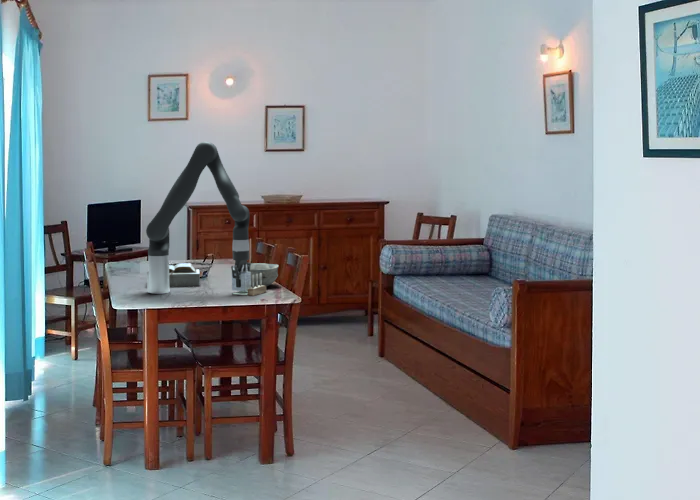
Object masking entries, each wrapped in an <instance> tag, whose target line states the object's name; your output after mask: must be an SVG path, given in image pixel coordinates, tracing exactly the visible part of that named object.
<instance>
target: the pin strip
mask: <svg viewBox="0 0 700 500" xmlns="http://www.w3.org/2000/svg"><path fill="white" fill-rule="evenodd" d="M259 279H260V285H259V286H258V274H256V286H255V287H254V275H252V287H251V288H249V289H247V291H248V295H247V296H248V297H251V296H252V297H255V296H259V295H261V294H265V293H267V287H266V286H265V285H262V273H259Z"/></svg>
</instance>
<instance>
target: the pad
mask: <svg viewBox="0 0 700 500" xmlns="http://www.w3.org/2000/svg"><path fill="white" fill-rule="evenodd" d="M232 295H238V296H239V295H242V296H248V291H246V292H245V291H236V292H232Z"/></svg>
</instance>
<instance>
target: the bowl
mask: <svg viewBox="0 0 700 500" xmlns="http://www.w3.org/2000/svg"><path fill="white" fill-rule="evenodd" d="M247 268H248V267H247ZM278 269H279V264H277V263H274V264H273V263H264V262H263V263H261V262H259V263H257V262H256V263H255V262H254V263H253V262H252V263H251V267H250V272H251V288H252V275H254V287H255V286H256V274H258V286H259V285H260V279H259V273H262V285H265V286H266V288H267V287H269V286H270V285H272V284H273V283H274V282H275V281H276V280H277V278H278V277H279V274H278V272H279V271H278Z"/></svg>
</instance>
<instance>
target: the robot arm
mask: <svg viewBox="0 0 700 500" xmlns="http://www.w3.org/2000/svg"><path fill="white" fill-rule="evenodd" d="M217 148H218V147H217V146H216V145H215V144H213V143H212V142H209V141H201V142H200V143H198V144H197V145H196V147H195V149H194V150H193V152H192V154H191V157H190V158H189V161H188V162H187V164H186V166H185V168H184V169H183V170H182V171H181V172H180V174H179V176H178V177H177V179H176V180H175V182H174V183H173V185H172V186H171V189H170V190H169V191H168V193H167V195H166V197H165V199H164V201H163V203H162V205H161V206H160V209H159V210H158V211H157V213H156V214H155V216H154V217H153V218H152V219H151V221H150V222H149V223H148V224H147V226H146V230H145V233H146V236H147V238H148V242H149V243H148V249H147V255H148V256H147V257H148V261H147V262H148V271H147V272H146V290H147V291H146V293H149V294H153V295H155V294H158V295H159V294H168V293H170V292H171V290H170V288H171V287H170V284H169V265H170V257H169V256H170V255H169V254H170V251H169V249H170V226H171V224H172V222H173V220H174V218H176V216H177V215H178V214H179V213H180V212H181V210H183V208H184V207H185V205H186V204H187V203H188V201H189V200H190V198H191V197H192V195H193V193H194V192H195V190H196V187H197V185H198V182H199V179H200V176H201V174H202V173H203V171H204V170H205V168H206V167H207V168H208V169H209V171H210V173H211V174H212V177H213V179H214V182H215V185H216V188H217V190H218V192H219V193H220V195H221V197H222V199H223V200H224V202H225V204H226V205H225V206H226V207H227V211H228V212H229V215H230V217H231V219H232V220H233V221H234V227H233V229H232V260H233V261H234V262H235V263H234V265H231V267H230V269H231V276H232V275H233V278H235V279H236V287H238V288H240V287H241V274H242V273H243V271H246V272H250V267H251V264H252V263H251V262H248V261H249V260H250V241H249V225H250V217H251V216H250V215H251V213H250V210H249V208H248V207H247V206H246V205H242V201H241V200H240V194H239V193H238V190H237V189H236V187H235V185H234V184H233V181H232V180H231V178H230V177H229V175H228V173H227V170H226V169H225V167H224V164H223V162H222V160H221V157H220V154H219V151H218V149H217ZM247 267H248V268H247ZM238 274H239V275H238Z"/></svg>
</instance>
